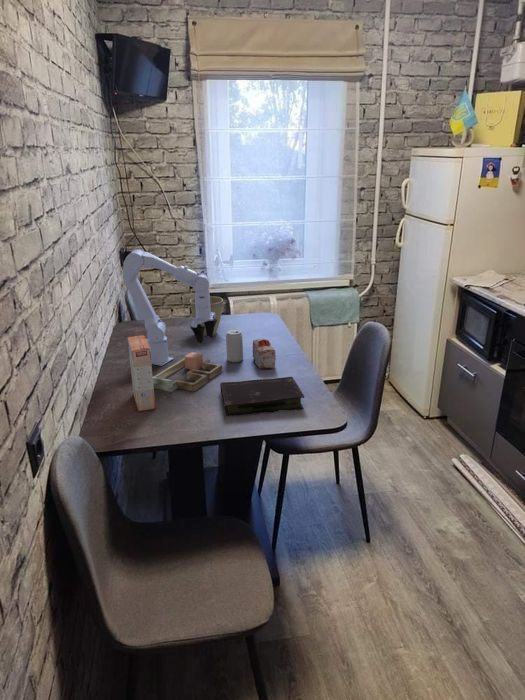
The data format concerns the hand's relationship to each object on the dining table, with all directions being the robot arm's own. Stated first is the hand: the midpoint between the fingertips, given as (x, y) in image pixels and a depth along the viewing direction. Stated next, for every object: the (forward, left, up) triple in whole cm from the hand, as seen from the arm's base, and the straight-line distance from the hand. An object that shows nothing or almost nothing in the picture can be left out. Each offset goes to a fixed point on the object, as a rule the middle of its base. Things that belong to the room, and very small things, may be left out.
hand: (204, 339), depth 192 cm
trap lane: (+3, -18, -8) cm, 20 cm away
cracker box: (+1, -40, -9) cm, 41 cm away
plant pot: (-16, +28, -9) cm, 33 cm away
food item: (+23, +5, -9) cm, 25 cm away
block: (0, -8, -8) cm, 12 cm away
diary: (+36, -24, -9) cm, 44 cm away
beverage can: (+11, +4, -9) cm, 15 cm away
